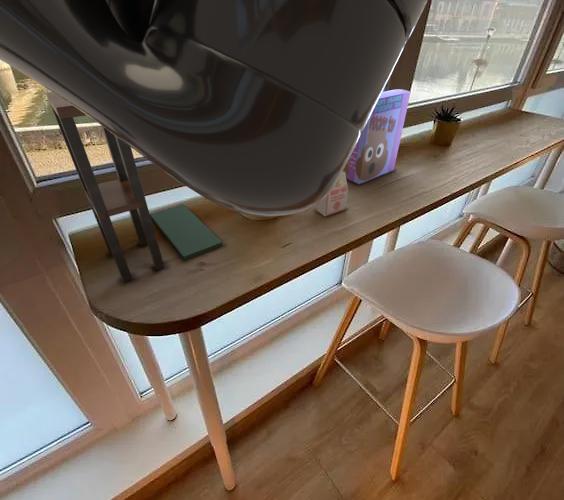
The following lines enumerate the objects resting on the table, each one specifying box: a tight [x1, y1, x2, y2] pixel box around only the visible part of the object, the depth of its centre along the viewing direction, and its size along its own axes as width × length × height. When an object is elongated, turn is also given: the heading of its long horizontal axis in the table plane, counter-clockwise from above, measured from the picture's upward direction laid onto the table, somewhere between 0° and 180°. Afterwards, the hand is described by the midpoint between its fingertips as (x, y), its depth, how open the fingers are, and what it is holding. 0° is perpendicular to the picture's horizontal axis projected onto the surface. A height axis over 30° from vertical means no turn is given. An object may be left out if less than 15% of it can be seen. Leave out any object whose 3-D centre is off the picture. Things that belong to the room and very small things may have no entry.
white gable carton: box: [316, 171, 349, 217], centre depth 83 cm, size 4×7×10 cm, turn 122°
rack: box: [45, 91, 165, 284], centre depth 59 cm, size 12×8×32 cm, turn 36°
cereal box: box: [346, 88, 412, 185], centre depth 97 cm, size 17×5×24 cm, turn 129°
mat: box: [149, 203, 223, 261], centre depth 77 cm, size 22×9×1 cm, turn 36°
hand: (74, 2), depth 31 cm, fingers closed on brush, 3 cm apart
